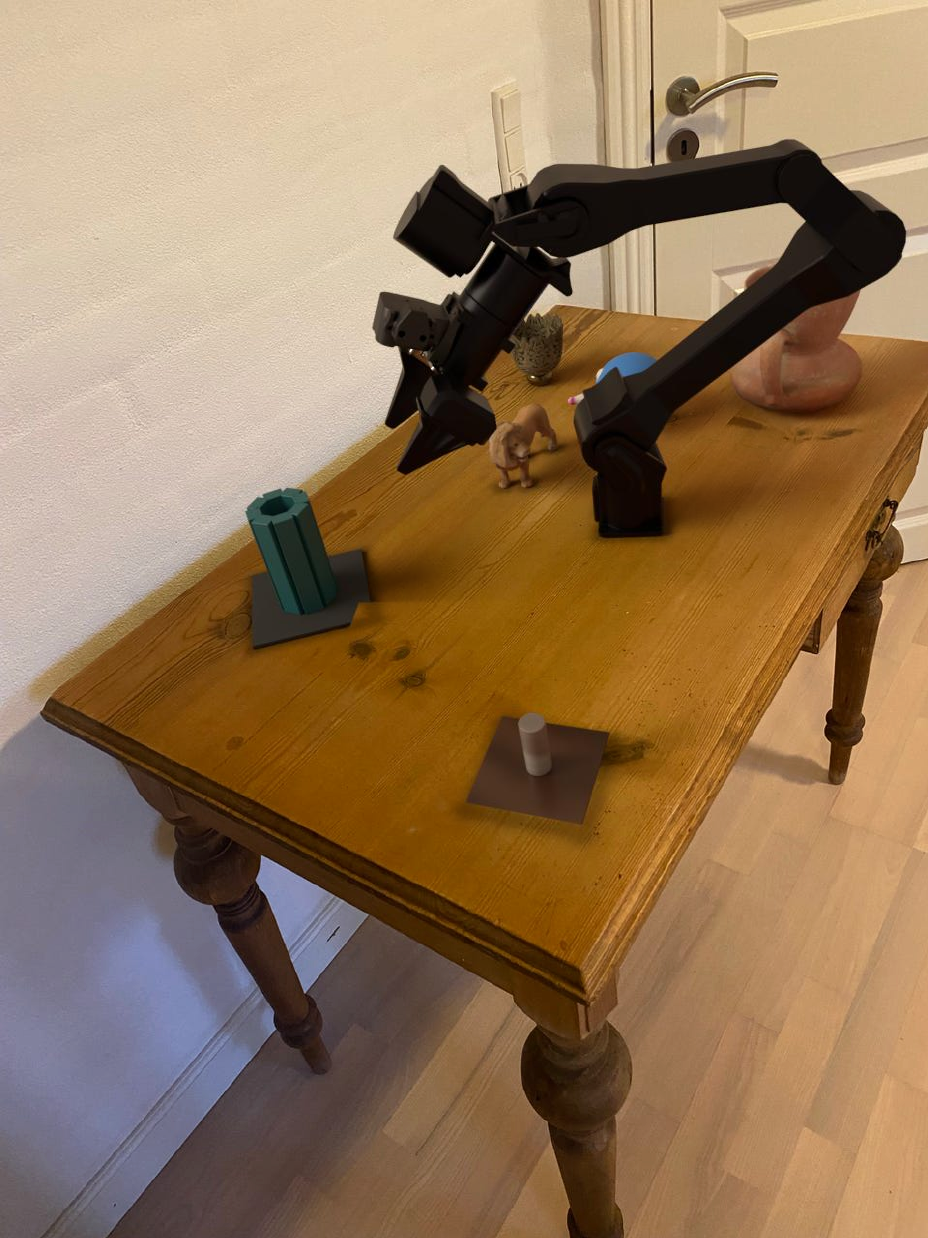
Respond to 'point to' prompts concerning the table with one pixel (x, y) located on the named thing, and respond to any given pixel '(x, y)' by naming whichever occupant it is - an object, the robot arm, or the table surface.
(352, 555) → the mat
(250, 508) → the sleeve
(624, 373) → the blue mole toy
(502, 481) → the lion figurine
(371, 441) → the table surface
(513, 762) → the peg stand
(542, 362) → the cup
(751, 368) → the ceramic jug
